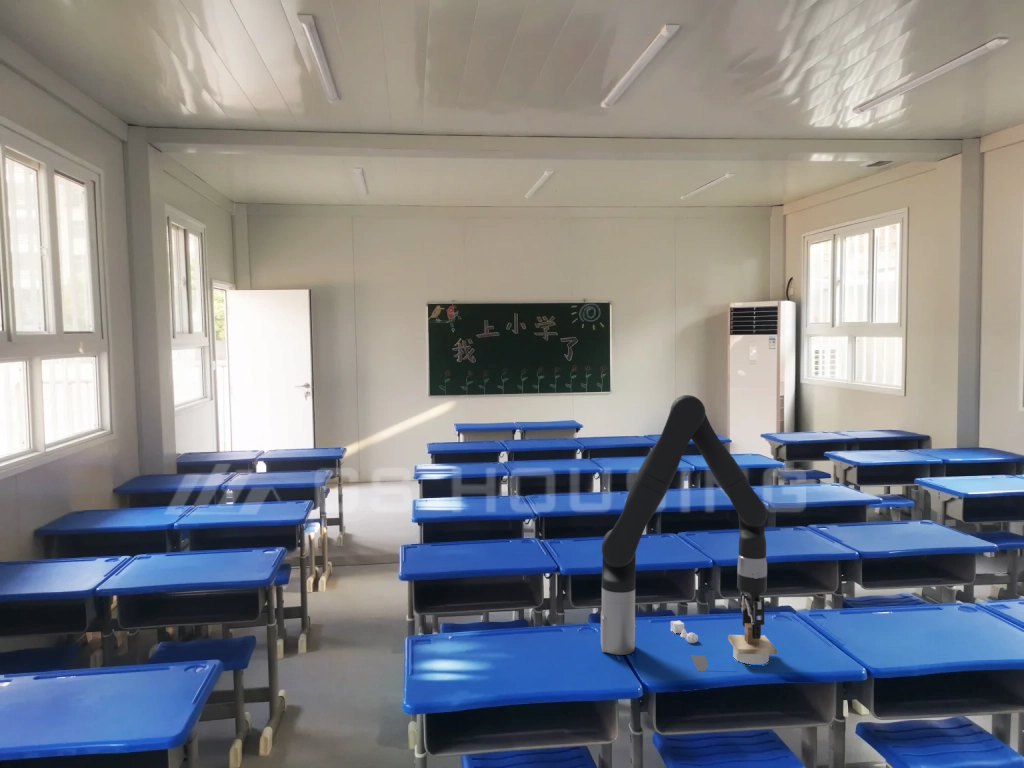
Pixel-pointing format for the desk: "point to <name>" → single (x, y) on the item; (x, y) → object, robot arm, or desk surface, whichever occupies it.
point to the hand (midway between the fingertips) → (751, 632)
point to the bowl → (751, 658)
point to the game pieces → (683, 631)
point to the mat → (699, 662)
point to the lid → (751, 643)
